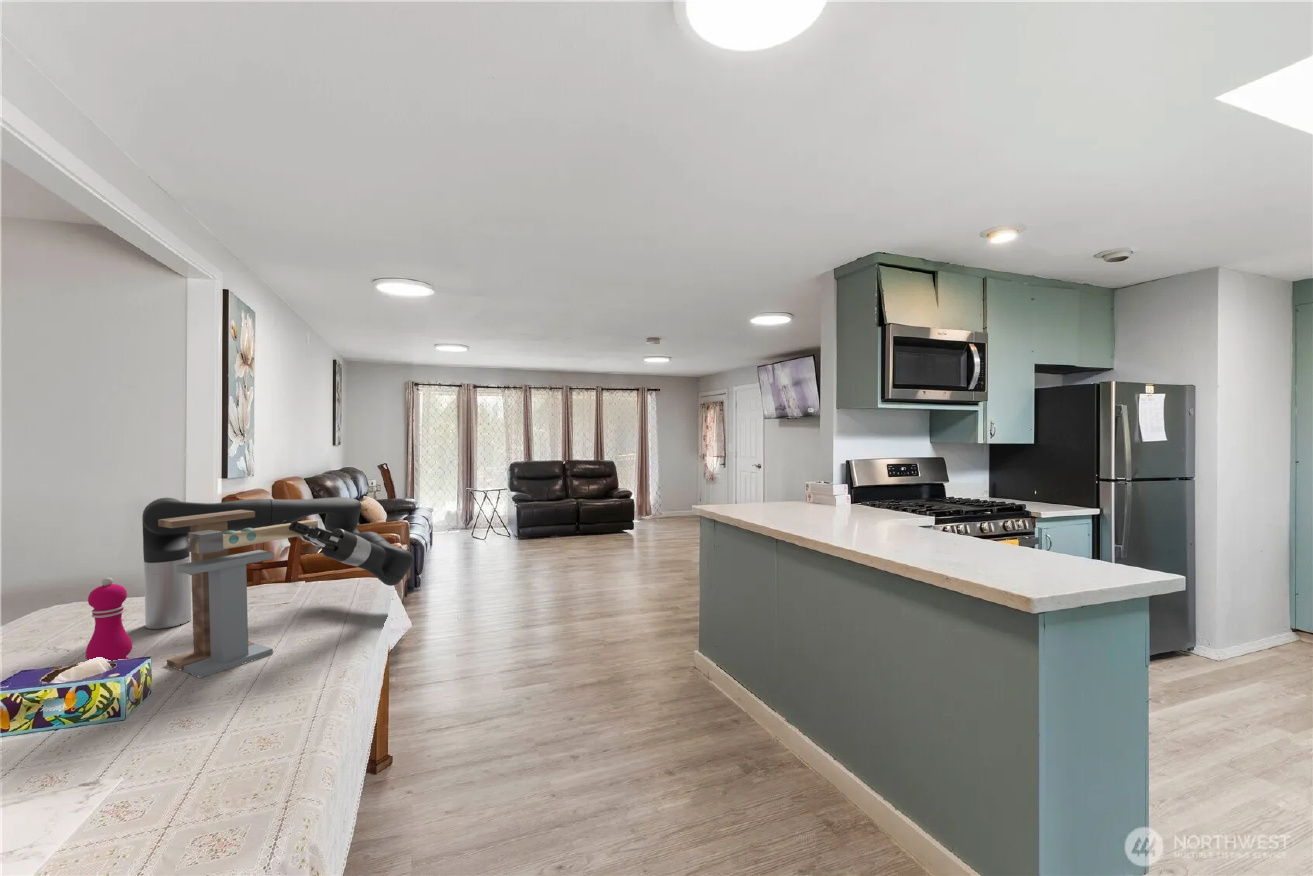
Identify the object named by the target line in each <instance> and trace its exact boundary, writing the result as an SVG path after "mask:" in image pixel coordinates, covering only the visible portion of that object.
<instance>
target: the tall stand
mask: <svg viewBox="0 0 1313 876" xmlns="http://www.w3.org/2000/svg"><path fill="white" fill-rule="evenodd" d="M253 517H255V511H248V510H235V511H227V512H218V513H210V514H202V515H193V516H185V517H177V518H168V519H160V520H158V526H160V527H167V528H178V527H185V526H190V532H189V533H193V532H199V531H206V530H215V531H222V532H223V533H224V532H226V531H228V528H227V521H230V520H238V519H245V518H253ZM223 556H229V548H228V549H223V550H222V551H216V552H210V553H205V554H198V553H193V552H190V562H195V561H201V560H206V559H212V558H217V557H223ZM191 612H192V636H193V638H192V639H193V640H192V641H193V642H192V643H193V647H192V648H193V651H190V652H186V653H184V654H180V655H177V656H173V657H171V658H167V659H166V665H167V666H169V667H171V666H173V667H172V668H174V667H175V669H176V668H177V669H176V670H179V669H181V670H184V666H185V665H188V664H191V663H195V662H198V661H201V660H204V659H207V658H211V649H210V612H209V574H208V572H203V573H197V574H192V575H191ZM252 644H255V642H252V641H249V640H248V646H249V645H252ZM181 670H180V671H181Z"/></svg>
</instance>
